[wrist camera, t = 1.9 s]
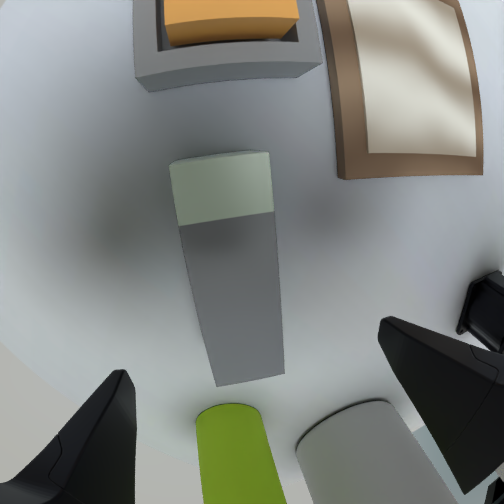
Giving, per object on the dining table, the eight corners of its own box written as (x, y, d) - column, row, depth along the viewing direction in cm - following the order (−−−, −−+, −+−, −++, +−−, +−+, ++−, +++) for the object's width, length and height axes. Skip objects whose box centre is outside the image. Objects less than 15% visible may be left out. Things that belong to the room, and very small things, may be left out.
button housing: (296, 77, 14) (322, 63, 10) (148, 92, 12) (135, 77, 9) (279, -30, 11) (297, -58, 7) (144, -21, 9) (135, -51, 6)
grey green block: (268, 333, 19) (284, 373, 16) (211, 344, 19) (216, 386, 15) (250, 150, 15) (268, 152, 11) (175, 160, 14) (168, 165, 11)
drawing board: (474, 173, 18) (484, 175, 17) (337, 177, 16) (347, 180, 15) (451, 3, 12) (459, 0, 11) (305, -46, 10) (311, -54, 9)
